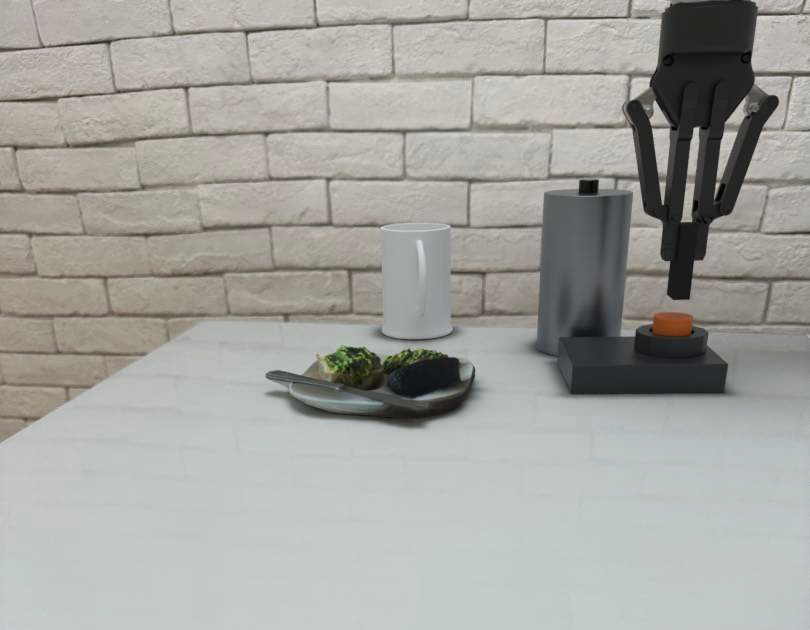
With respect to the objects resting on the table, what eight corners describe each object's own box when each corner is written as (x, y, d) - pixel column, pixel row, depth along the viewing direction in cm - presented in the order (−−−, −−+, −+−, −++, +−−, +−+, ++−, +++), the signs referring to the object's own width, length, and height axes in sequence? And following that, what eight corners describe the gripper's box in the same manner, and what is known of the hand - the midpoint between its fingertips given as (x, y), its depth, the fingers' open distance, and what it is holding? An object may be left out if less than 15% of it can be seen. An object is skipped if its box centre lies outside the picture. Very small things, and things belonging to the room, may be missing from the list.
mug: (455, 346, 97) (455, 233, 91) (379, 347, 97) (375, 235, 91) (450, 323, 107) (451, 221, 102) (382, 324, 107) (379, 223, 102)
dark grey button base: (693, 361, 88) (699, 317, 86) (724, 392, 79) (731, 344, 77) (557, 363, 89) (559, 319, 87) (570, 394, 79) (574, 345, 77)
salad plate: (235, 419, 75) (230, 366, 73) (299, 365, 90) (296, 321, 88) (455, 429, 71) (455, 375, 69) (482, 371, 87) (482, 325, 85)
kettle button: (685, 329, 83) (687, 311, 83) (695, 338, 80) (697, 319, 79) (648, 330, 84) (650, 312, 83) (656, 339, 80) (658, 320, 80)
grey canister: (611, 337, 99) (625, 175, 91) (626, 357, 91) (642, 181, 83) (533, 338, 99) (540, 177, 91) (540, 358, 91) (549, 183, 83)
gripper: (638, -1, 67) (614, 306, 77) (809, -7, 66) (761, 303, 77) (621, 10, 74) (601, 291, 84) (776, 4, 73) (736, 288, 83)
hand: (678, 296), depth 80 cm, fingers closed
